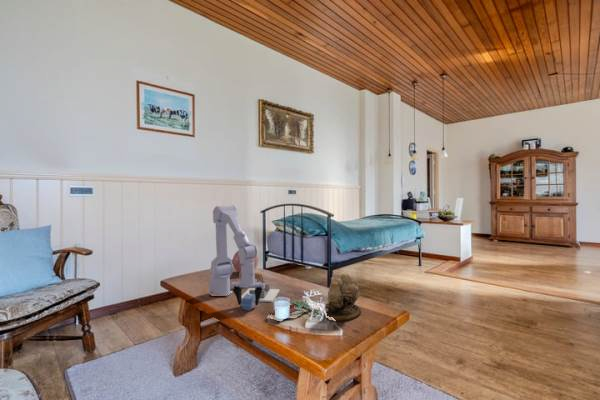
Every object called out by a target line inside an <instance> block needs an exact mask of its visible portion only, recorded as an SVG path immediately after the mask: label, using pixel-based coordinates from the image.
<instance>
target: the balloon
mask: <svg viewBox="0 0 600 400" xmlns="http://www.w3.org/2000/svg"><path fill="white" fill-rule="evenodd" d="M238 252H239V249H237V251H236V252H235V253H234V255H233V257H232V258H231V259H232V264H233V269H234V270H236V271H237V272H238V273H240V271H241V263H240V259H239V256H238ZM257 266H258V254H257V255H256V257H255V258H254V269H256V267H257Z"/></svg>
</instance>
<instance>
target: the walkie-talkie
mask: <svg viewBox="0 0 600 400" xmlns="http://www.w3.org/2000/svg"><path fill="white" fill-rule="evenodd" d="M289 303H290V316H292V315H298V314H300V313H302V312H303V311H302V310H301V311H297V309H295V308H294V306H295V304H294V303H291V302H289ZM275 310H276V309H274V310H272V311H269V316H270V315H271V314H272V315H275Z"/></svg>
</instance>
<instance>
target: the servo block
mask: <svg viewBox="0 0 600 400" xmlns="http://www.w3.org/2000/svg"><path fill="white" fill-rule="evenodd" d="M254 298H255V295H254V294H246V295H245V296H244V297H243V298H242V303H241V304H240V305H239V306H240V307H241V308H242V309H245V310H244V311H251V310H252V309H253V308H254V306H256V304H255V302H254ZM242 309H241V310H242Z"/></svg>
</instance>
